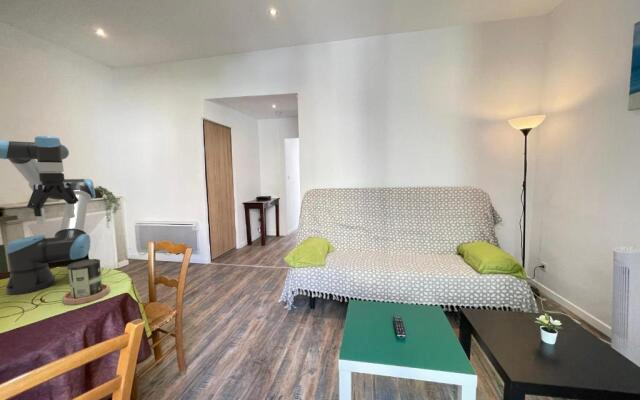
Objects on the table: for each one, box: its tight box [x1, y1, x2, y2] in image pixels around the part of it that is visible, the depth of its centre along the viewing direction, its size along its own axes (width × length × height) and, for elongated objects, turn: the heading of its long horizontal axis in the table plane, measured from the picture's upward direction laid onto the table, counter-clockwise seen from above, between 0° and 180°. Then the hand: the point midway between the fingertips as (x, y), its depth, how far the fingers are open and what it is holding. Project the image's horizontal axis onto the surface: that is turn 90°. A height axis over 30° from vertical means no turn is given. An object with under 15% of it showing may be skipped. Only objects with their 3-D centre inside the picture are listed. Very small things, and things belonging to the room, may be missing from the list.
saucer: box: [61, 283, 111, 306], centre depth 109 cm, size 15×15×2 cm
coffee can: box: [66, 258, 103, 299], centre depth 109 cm, size 10×10×14 cm
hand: (57, 220), depth 113 cm, fingers open, 13 cm apart
